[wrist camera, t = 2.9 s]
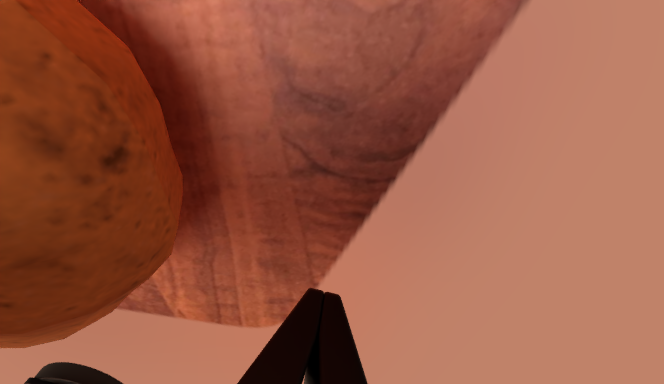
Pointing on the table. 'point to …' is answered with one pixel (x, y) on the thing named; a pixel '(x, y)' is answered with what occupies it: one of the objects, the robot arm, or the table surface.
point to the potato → (76, 172)
